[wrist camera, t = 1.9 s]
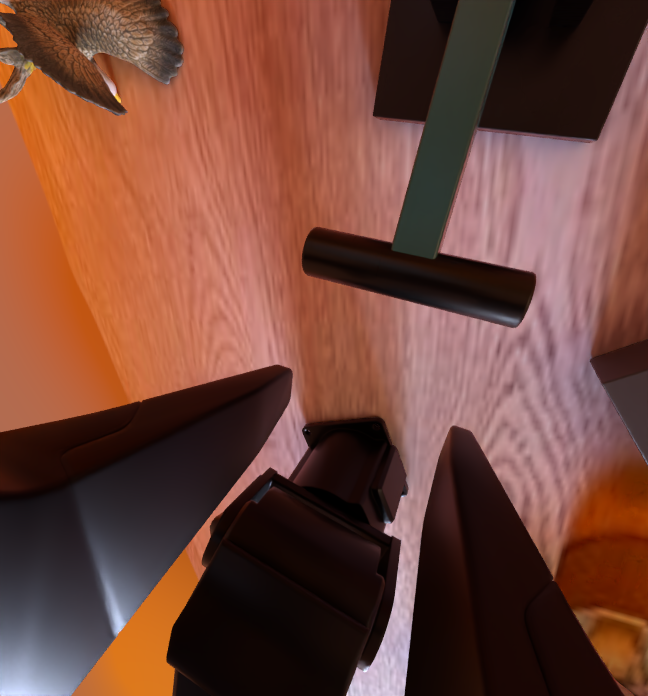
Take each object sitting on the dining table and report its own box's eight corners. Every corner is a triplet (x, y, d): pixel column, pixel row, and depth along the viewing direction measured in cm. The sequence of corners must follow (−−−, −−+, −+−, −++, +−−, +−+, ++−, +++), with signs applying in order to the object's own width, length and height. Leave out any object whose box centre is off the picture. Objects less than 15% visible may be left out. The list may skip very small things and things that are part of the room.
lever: (508, 325, 10) (525, 332, 7) (320, 277, 11) (288, 271, 9) (715, -260, 7) (837, -518, 5) (437, -215, 9) (432, -394, 6)
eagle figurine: (71, 150, 24) (154, 156, 20) (-83, 52, 18) (-9, 30, 13) (113, 44, 24) (204, 28, 20) (-25, -90, 18) (66, -156, 13)
